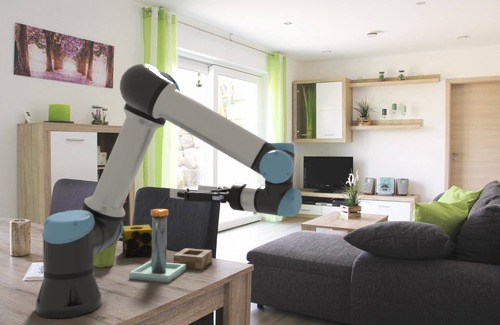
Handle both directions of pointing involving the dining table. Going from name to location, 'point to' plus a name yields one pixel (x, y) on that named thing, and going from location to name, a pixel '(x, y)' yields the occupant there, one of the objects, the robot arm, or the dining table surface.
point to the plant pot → (105, 257)
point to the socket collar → (193, 258)
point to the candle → (137, 241)
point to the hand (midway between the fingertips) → (185, 190)
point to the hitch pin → (159, 240)
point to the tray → (146, 274)
